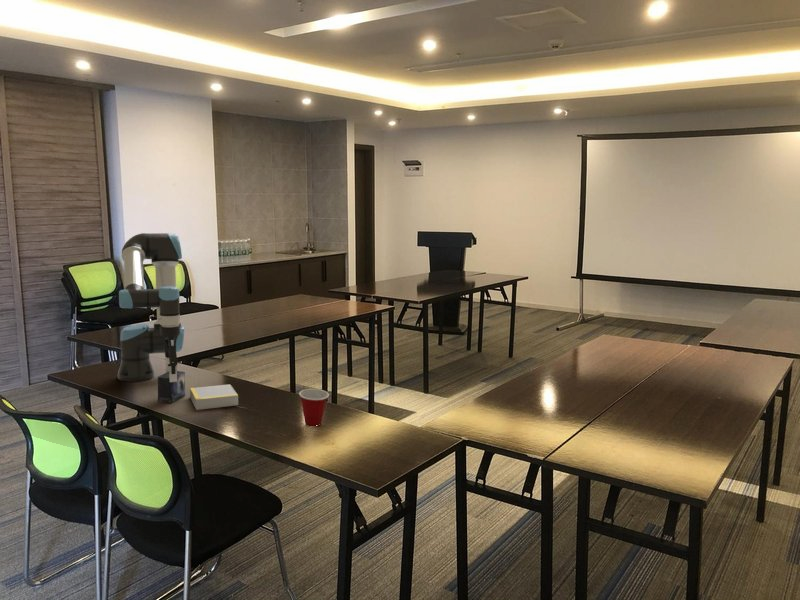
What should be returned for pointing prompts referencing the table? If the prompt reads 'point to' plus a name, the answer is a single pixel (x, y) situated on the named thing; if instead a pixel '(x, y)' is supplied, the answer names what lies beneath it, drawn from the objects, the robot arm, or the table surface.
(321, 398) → the plastic cup
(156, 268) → the robot arm
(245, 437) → the table surface
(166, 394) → the small box
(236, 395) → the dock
